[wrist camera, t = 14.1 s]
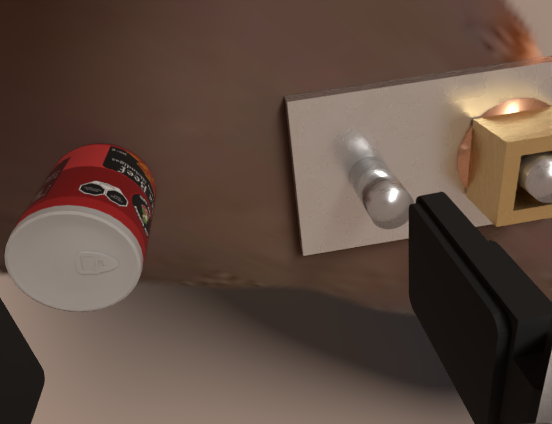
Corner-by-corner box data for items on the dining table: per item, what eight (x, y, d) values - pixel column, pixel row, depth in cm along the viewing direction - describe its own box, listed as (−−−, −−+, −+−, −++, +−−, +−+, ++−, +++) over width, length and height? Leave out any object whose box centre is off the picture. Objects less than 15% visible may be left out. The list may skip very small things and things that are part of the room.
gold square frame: (473, 119, 38) (507, 142, 34) (558, 105, 39) (602, 126, 34) (466, 196, 42) (496, 226, 38) (544, 183, 42) (583, 212, 38)
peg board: (284, 96, 37) (300, 130, 31) (584, 50, 38) (660, 74, 32) (300, 246, 44) (316, 299, 38) (553, 204, 45) (611, 249, 39)
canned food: (169, 213, 41) (158, 297, 32) (76, 235, 41) (37, 326, 31) (138, 129, 37) (115, 196, 28) (36, 153, 37) (-22, 228, 28)
